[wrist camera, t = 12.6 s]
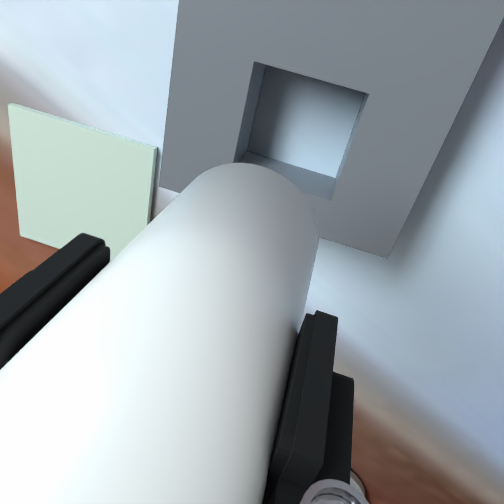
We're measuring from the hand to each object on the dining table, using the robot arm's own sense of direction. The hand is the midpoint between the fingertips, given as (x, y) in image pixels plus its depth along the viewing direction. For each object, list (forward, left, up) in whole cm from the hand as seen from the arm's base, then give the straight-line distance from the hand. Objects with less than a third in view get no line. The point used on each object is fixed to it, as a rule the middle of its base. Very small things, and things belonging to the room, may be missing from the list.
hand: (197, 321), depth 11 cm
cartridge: (0, 0, -5) cm, 5 cm away
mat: (+16, +11, -21) cm, 29 cm away
